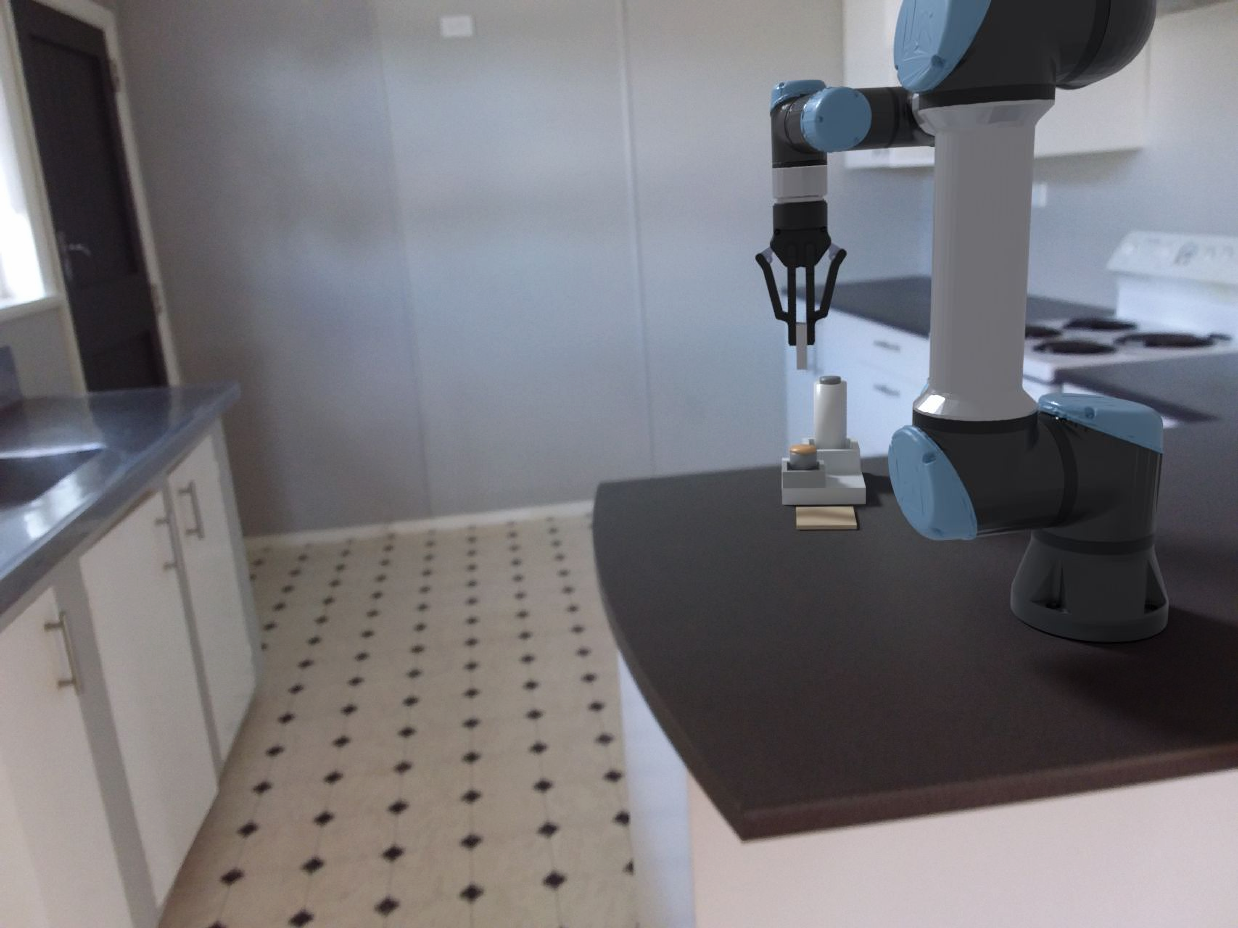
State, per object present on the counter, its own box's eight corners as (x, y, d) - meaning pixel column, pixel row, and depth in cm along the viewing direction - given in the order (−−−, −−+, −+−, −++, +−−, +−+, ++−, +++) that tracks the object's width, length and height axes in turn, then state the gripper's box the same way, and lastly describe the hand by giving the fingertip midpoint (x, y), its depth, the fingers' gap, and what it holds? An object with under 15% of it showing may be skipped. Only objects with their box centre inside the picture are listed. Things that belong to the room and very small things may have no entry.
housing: (865, 503, 146) (865, 464, 145) (782, 504, 148) (781, 465, 147) (857, 471, 162) (857, 435, 161) (782, 472, 164) (781, 437, 163)
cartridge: (847, 469, 155) (847, 380, 151) (814, 470, 156) (814, 381, 152) (845, 461, 160) (845, 374, 156) (813, 461, 160) (813, 375, 157)
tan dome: (817, 470, 147) (817, 450, 146) (789, 471, 148) (789, 451, 147) (816, 463, 151) (816, 444, 150) (789, 463, 152) (789, 444, 151)
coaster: (856, 529, 136) (856, 525, 136) (796, 529, 137) (796, 525, 137) (852, 510, 144) (852, 506, 144) (796, 511, 145) (796, 507, 145)
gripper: (846, 196, 142) (846, 361, 148) (753, 202, 144) (757, 364, 150) (849, 197, 135) (849, 371, 141) (751, 203, 137) (755, 374, 143)
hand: (801, 367), depth 146 cm, fingers closed
